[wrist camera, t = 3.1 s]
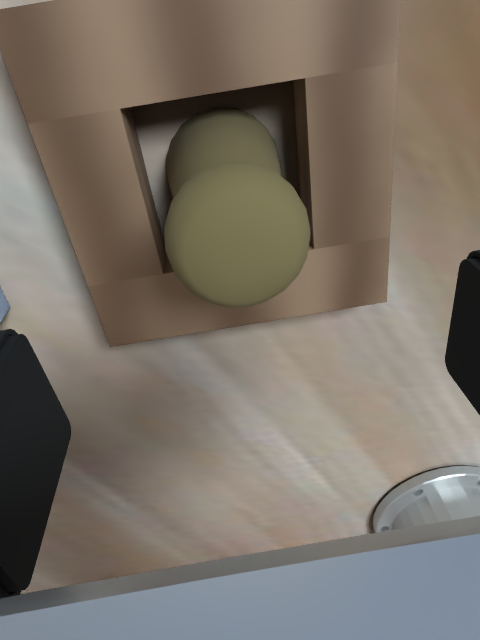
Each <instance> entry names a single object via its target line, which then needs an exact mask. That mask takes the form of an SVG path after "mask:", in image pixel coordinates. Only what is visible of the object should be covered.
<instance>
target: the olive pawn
mask: <svg viewBox="0 0 480 640" xmlns="http://www.w3.org/2000/svg"><path fill="white" fill-rule="evenodd" d="M166 168H167V179H168V182H169V186H170V189H171V193H172V196H173V200H172V202H171V205H170V208H169V212H168V215H167V218H166V222H165V226H164V236H165V251H166V253H167V256H168V259H169V261H170V264H171V266H172V269H173V271H174V273H175V275H176V276H177V277H178V279H179V280H180V281H181V282H182V283H183V284H184V286H185V287H186V288H187V289H188V290H189V291H190V292H192V293H193V294H195V295H197V296H198V297H200V298H201V299H203V300H204V301H206V302H210V303H213V304H217V305H220V306H224V307H249V306H253V305H257V304H260V303H264V302H266V301H268V300H270V299H271V298H273V297H275V296H276V295H278V294H280V293H281V292H283V291H284V290H285V289H286V288H287V287H288V286H289V285H290V284H291V283H292V282H293V281H294V280H295V279H296V277H297V276H298V275H299V273H300V271H301V269H302V267H303V265H304V263H305V261H306V259H307V255H308V248H309V241H310V225H309V220H308V215H307V210H306V208H305V206H304V204H303V202H302V201H301V199H300V197H299V196H298V194H297V192H296V191H295V189H294V188H293V186H292V185H291V184H290V183H289V182H288V181H286V180H285V179H284V178H283V177H282V176H281V168H280V160H279V156H278V151H277V147H276V143H275V141H274V140H273V138H272V136H271V135H270V133H269V131H268V129H267V128H266V127H265V126H264V125H263V124H262V123H261V122H259V121H258V120H257V119H256V118H255V117H254V116H253V115H250V114H248V113H245V112H243V111H240V110H238V109H235V108H217V107H215V108H212V109H209V110H206V111H203V112H199V113H197V114H195V115H194V116H193V117H191V118H190V119H189V120H187V121H186V122H185V123H183V124H182V125H181V127H180V128H179V130H178V131H177V133H176V134H175V136H174V137H173V139H172V140H171V143H170V147H169V150H168V154H167V157H166Z"/></svg>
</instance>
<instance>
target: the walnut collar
mask: <svg viewBox="0 0 480 640" xmlns="http://www.w3.org/2000/svg"><path fill="white" fill-rule="evenodd" d="M400 12H401V0H53V1H47V2H41V3H35V4H29V5H23V6H17V7H11V8H5V9H0V51H1V54H2V57H3V59H4V62H5V65H6V67H7V70H8V73H9V75H10V78H11V81H12V83H13V86H14V89H15V92H16V94H17V97H18V100H19V102H20V105H21V108H22V110H23V113H24V116H25V118H26V121H27V124H28V127H29V129H30V132H31V135H32V137H33V140H34V143H35V145H36V148H37V151H38V154H39V156H40V159H41V162H42V164H43V167H44V170H45V172H46V175H47V178H48V180H49V183H50V186H51V189H52V191H53V194H54V197H55V199H56V202H57V205H58V207H59V210H60V213H61V216H62V218H63V221H64V224H65V226H66V229H67V232H68V234H69V237H70V240H71V242H72V245H73V248H74V251H75V253H76V256H77V259H78V261H79V264H80V267H81V269H82V272H83V275H84V278H85V280H86V283H87V286H88V288H89V291H90V294H91V296H92V299H93V302H94V304H95V307H96V310H97V313H98V315H99V318H100V321H101V323H102V326H103V329H104V331H105V334H106V337H107V340H108V342H109V345H110V347H113V346H119V345H125V344H131V343H137V342H143V341H149V340H156V339H162V338H168V337H174V336H180V335H186V334H192V333H198V332H205V331H211V330H217V329H223V328H229V327H235V326H241V325H248V324H254V323H260V322H266V321H272V320H278V319H284V318H291V317H297V316H303V315H309V314H315V313H321V312H327V311H333V310H340V309H346V308H352V307H358V306H364V305H370V304H376V303H383V302H387V285H388V264H389V243H390V222H391V201H392V180H393V159H394V138H395V117H396V96H397V75H398V54H399V33H400ZM291 80H293V89H294V104H295V119H296V135H297V150H298V165H299V180H300V195H301V201H302V202H303V204H304V206H305V208H306V210H307V215H308V220H309V225H310V241H309V248H308V255H307V259H306V261H305V263H304V265H303V267H302V269H301V271H300V273H299V275H298V276H297V277H296V279H295V280H294V281H293V282H292V283H291V284H290V285H289V286H288V287H287V288H286V289H285V290H284V291H283V292H281V293H280V294H278V295H276V296H275V297H273V298H271V299H270V300H268V301H266V302H264V303H260V304H257V305H253V306H249V307H224V306H220V305H217V304H213V303H210V302H206V301H204V300H203V299H201V298H200V297H198V296H197V295H195V294H193V293H192V292H190V291H189V290H188V289H187V288H186V287H185V286H184V284H183V283H182V282H181V281H180V280H179V279H178V277H177V276H176V275H175V273H174V271H173V269H172V266H171V264H170V261H169V259H168V256H167V253H166V251H165V244H164V240H163V236H162V232H161V228H160V224H159V220H158V216H157V212H156V208H155V204H154V200H153V196H152V192H151V188H150V184H149V180H148V176H147V172H146V168H145V164H144V160H143V156H142V152H141V148H140V144H139V140H138V136H137V132H136V128H135V124H134V120H133V115H132V111H131V107H133V106H140V105H146V104H152V103H158V102H164V101H170V100H176V99H182V98H188V97H194V96H200V95H206V94H212V93H218V92H224V91H230V90H236V89H242V88H248V87H254V86H260V85H266V84H272V83H278V82H285V81H291Z"/></svg>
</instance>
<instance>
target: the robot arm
mask: <svg viewBox="0 0 480 640" xmlns="http://www.w3.org/2000/svg"><path fill="white" fill-rule="evenodd" d="M445 363H446V367H447V370H448V372H449V374H450V375H451V377H452V378H453V379H454V381H455V382H456V383H457V385H458V386H459V388H460V389H461V390H462V392H463V393H464V394H465V396H466V397H467V398H468V400H469V401H470V403H471V404H472V405H473V407H474V408H475V409H476V411H477V412H478V414H479V415H480V250H477V251H472V252H471V253H470V254H469V255H468V257H467V259H465V260H463V261H462V262H461V263H460V266H459V272H458V278H457V285H456V291H455V298H454V304H453V310H452V317H451V323H450V329H449V336H448V342H447V348H446V355H445ZM70 437H71V426H70V422H69V420H68V418H67V416H66V414H65V412H64V410H63V408H62V406H61V404H60V402H59V400H58V398H57V396H56V394H55V392H54V390H53V388H52V386H51V384H50V382H49V380H48V378H47V376H46V374H45V372H44V370H43V368H42V366H41V364H40V362H39V360H38V358H37V357H36V355H35V353H34V351H33V349H32V347H31V345H30V343H29V341H28V339H27V337H26V336H25V335H23V334H17V332H16V331H14V330H12V329H7V330H1V331H0V640H480V467H473V466H451V467H445V468H439V469H436V470H432V471H428V472H425V473H423V474H420V475H418V476H415V477H413V478H411V479H409V480H407V481H406V482H404V483H402V484H400V485H399V486H398V487H396V488H395V489H394V490H392V491H391V492H390V493H389V494H388V495H387V496H386V497H385V498H384V499H383V500H382V502H381V503H380V504H379V506H378V507H377V509H376V511H375V514H374V517H373V527H374V531H375V533H372V534H367V535H361V536H355V537H349V538H343V539H337V540H331V541H325V542H319V543H313V544H307V545H301V546H295V547H290V548H284V549H278V550H272V551H266V552H260V553H254V554H249V555H243V556H237V557H231V558H225V559H219V560H213V561H207V562H202V563H196V564H190V565H184V566H179V567H173V568H167V569H162V570H156V571H150V572H145V573H139V574H133V575H127V576H122V577H116V578H110V579H105V580H99V581H93V582H87V583H82V584H76V585H70V586H65V587H59V588H53V589H47V590H42V591H37V592H32V593H26V594H21V595H20V593H21V590H25V589H26V588H27V587H28V586H29V584H30V581H31V579H32V575H33V571H34V568H35V564H36V561H37V557H38V553H39V550H40V546H41V542H42V539H43V535H44V532H45V528H46V524H47V521H48V517H49V513H50V510H51V506H52V503H53V499H54V495H55V492H56V488H57V484H58V481H59V477H60V474H61V470H62V466H63V463H64V459H65V456H66V452H67V448H68V445H69V441H70Z"/></svg>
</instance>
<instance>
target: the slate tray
mask: <svg viewBox="0 0 480 640" xmlns="http://www.w3.org/2000/svg"><path fill="white" fill-rule="evenodd" d="M9 308H10V306H9V304H8V302H7V300H6V298H5V295H4V293H3V291H2V289H1V287H0V322H1V321H2V319H3V318H4V316H5V315H6V313H7V311H8V310H9Z"/></svg>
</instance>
